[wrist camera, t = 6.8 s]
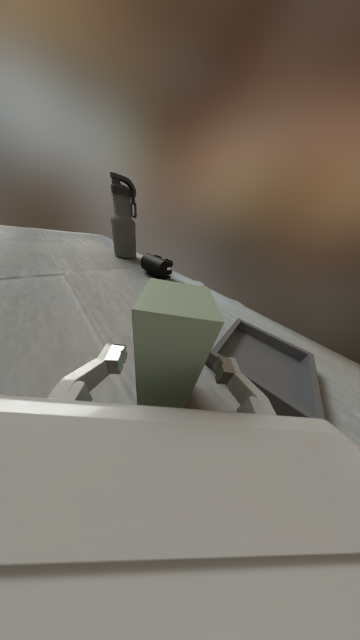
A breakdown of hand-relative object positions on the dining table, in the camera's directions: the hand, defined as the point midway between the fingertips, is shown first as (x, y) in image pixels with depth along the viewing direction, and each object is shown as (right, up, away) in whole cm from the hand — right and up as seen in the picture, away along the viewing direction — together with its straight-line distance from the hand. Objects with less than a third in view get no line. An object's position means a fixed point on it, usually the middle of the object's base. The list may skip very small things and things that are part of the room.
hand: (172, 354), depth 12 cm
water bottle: (-26, +35, +54) cm, 69 cm away
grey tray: (+14, -5, +11) cm, 18 cm away
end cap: (-9, +20, +39) cm, 45 cm away
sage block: (-2, -6, +5) cm, 8 cm away
